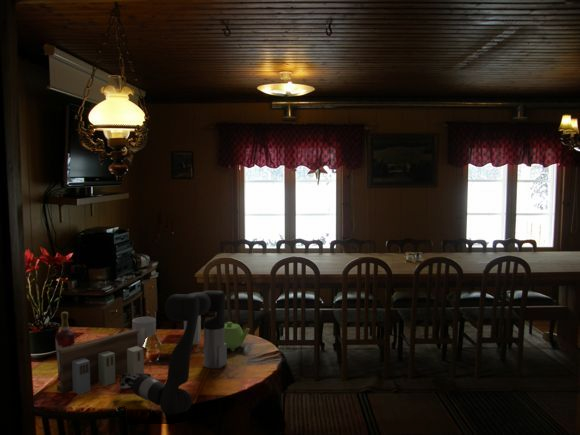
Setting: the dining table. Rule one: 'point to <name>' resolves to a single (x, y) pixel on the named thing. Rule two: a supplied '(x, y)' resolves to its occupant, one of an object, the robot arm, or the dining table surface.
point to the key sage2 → (106, 368)
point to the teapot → (234, 335)
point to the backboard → (95, 356)
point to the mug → (144, 328)
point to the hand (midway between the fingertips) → (123, 375)
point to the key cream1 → (135, 360)
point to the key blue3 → (81, 375)
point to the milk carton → (198, 330)
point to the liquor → (64, 338)
